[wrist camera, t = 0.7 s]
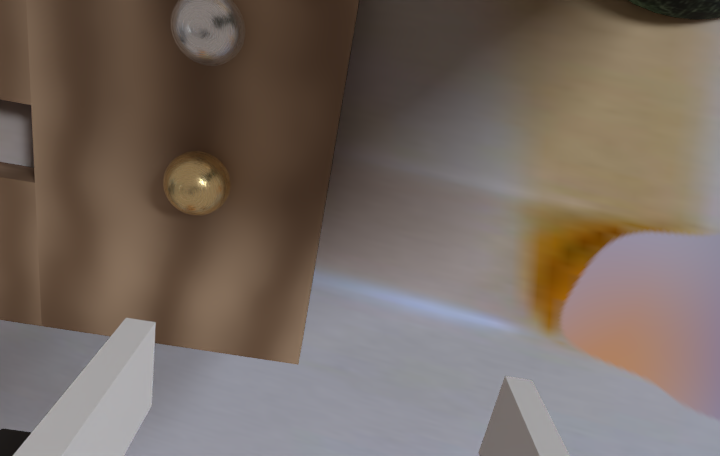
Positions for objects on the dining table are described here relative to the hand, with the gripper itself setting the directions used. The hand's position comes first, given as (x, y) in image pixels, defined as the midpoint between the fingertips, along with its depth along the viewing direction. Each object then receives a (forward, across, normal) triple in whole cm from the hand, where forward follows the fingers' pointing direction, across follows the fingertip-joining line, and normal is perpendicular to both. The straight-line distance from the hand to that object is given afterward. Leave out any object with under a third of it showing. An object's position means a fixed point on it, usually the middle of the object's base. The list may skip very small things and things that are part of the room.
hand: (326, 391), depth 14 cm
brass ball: (+15, -8, 0) cm, 17 cm away
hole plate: (+20, -14, 0) cm, 24 cm away
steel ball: (+15, -8, +8) cm, 19 cm away
